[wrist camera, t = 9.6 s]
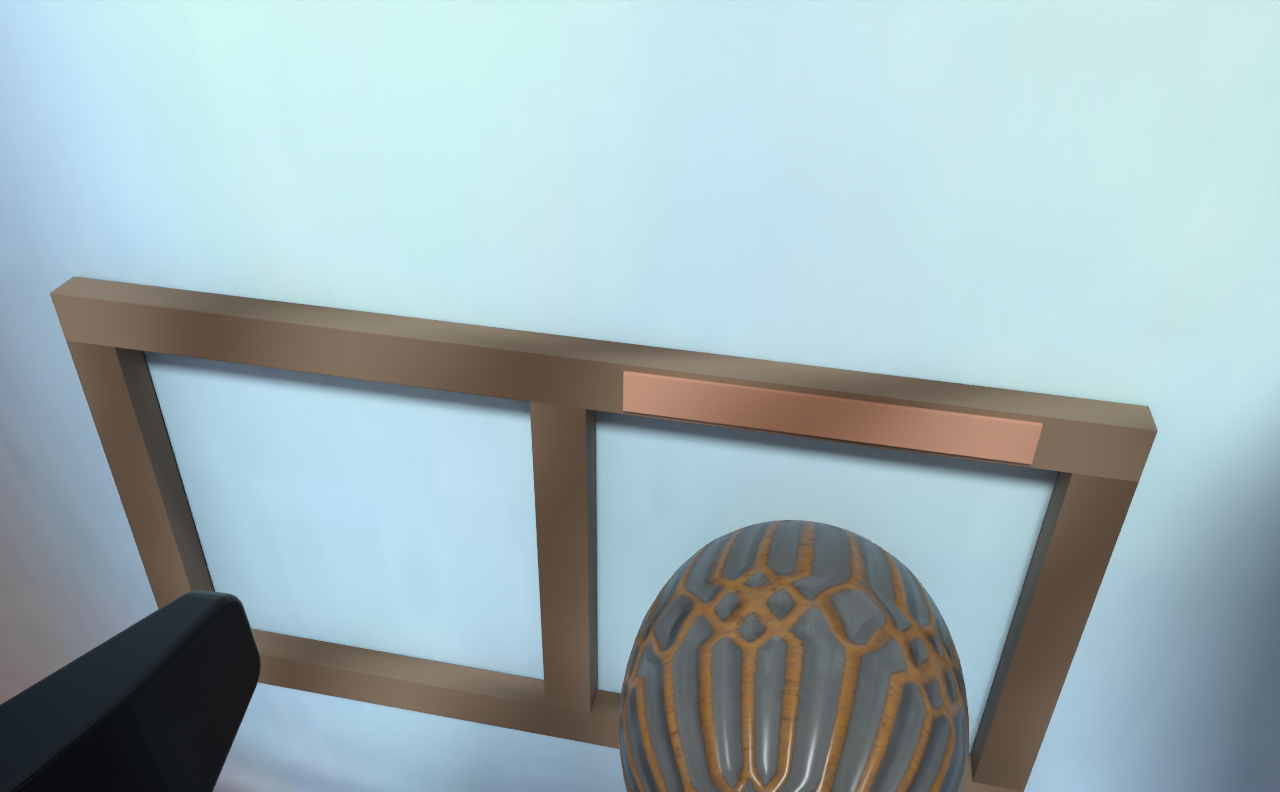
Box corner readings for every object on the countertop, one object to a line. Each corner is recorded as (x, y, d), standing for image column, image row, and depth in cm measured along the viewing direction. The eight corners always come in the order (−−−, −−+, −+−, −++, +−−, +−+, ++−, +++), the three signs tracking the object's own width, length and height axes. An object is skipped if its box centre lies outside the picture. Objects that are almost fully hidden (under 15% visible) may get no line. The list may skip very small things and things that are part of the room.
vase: (814, 414, 21) (774, 775, 14) (1023, 612, 23) (1083, 1021, 16) (598, 564, 25) (479, 913, 18) (794, 725, 27) (758, 1100, 19)
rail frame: (1148, 406, 20) (1158, 434, 19) (1009, 793, 26) (1013, 824, 26) (73, 276, 23) (46, 295, 22) (194, 646, 30) (176, 670, 29)
